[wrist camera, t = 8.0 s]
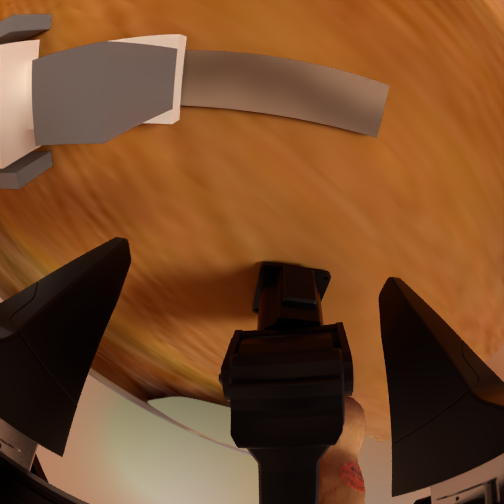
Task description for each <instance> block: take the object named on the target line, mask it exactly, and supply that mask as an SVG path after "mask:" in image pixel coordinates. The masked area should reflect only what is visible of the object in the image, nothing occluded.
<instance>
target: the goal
mask: <svg viewBox="0 0 504 504" xmlns="http://www.w3.org/2000/svg"><path fill="white" fill-rule="evenodd" d="M51 19H52V15H49V14H25V15H12V16H10V17H8V18H6V19H5V20H3V21H1V22H0V45H2V44H8V43H14V42H20V41H22V40H24V39H27V38H29V37H31V36H34V35H36V34H39V33H41V32H44V31H46V30H49V29H50V26H51ZM52 166H53V162H52V155H51V151H46V152H30V153H28V154H26V155H24V156H23V157H21V158H19V159H18V160H16V161H15V162H13V163H11V164H10V165H8V166H7V167H5V168H3V169H0V189H21V188H22V187H23V186H25V185H26V184H27V183H29V182H30V181H32V180H33V179H34V178H36V177H37V176H39V175H40V174H42V173H43V172H44V171H46V170H47V169H49V168H50V167H52Z"/></svg>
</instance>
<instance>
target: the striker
mask: <svg viewBox="0 0 504 504" xmlns="http://www.w3.org/2000/svg"><path fill="white" fill-rule="evenodd" d="M186 38H187V36H184V35H181V34H169V35H154V36H143V37H134V38H126V39H119V40H113V41H104V42H99V43H94V44H89V45H84V46H80V47H76V48H72V49H68V50H64V51H60V52H57V53H53V54H50V55H47V56H44V57H41V58H38V54H39V41H40V40H30V41H22V42H14V43H8V44H2V45H0V169H3V168H5V167H7V166H8V165H10V164H11V163H13V162H15V161H16V160H18V159H19V158H21V157H23V156H24V155H26V154H28V153H30V152H31V151H33V150H35V149H37V148H39V147H40V146H41V145H57V144H89V143H106V142H108V141H109V140H111V139H113V138H115V137H117V136H118V135H120V134H122V133H124V132H126V131H128V130H130V129H132V128H134V127H136V126H138V125H140V124H142V123H157V124H173V123H175V122H176V121H178V120H179V115H180V99H181V86H182V75H183V65H184V55H185V46H186Z"/></svg>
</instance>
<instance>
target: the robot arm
mask: <svg viewBox="0 0 504 504" xmlns="http://www.w3.org/2000/svg"><path fill="white" fill-rule="evenodd" d="M130 264H131V255H130V249H129V243H128V240H127V239H126V238H120V237H115V238H113V239H112V240H110V241H108V242H106V243H104V244H102V245H100V246H98V247H96V248H95V249H93V250H91V251H89V252H87V253H85V254H84V255H82V256H80V257H78V258H76V259H75V260H73V261H71V262H69V263H68V264H66V265H64V266H62V267H61V268H59V269H57V270H56V271H54V272H52V273H50V274H49V275H47V276H45V277H44V278H42V279H40V280H39V282H35V283H34V284H32V285H31V286H29V287H27V288H26V289H24V290H22V291H21V292H19V293H17V294H16V295H14V296H12V297H10V298H8V299H7V300H5V301H3V302H2V303H0V504H89V503H86V502H84V501H82V500H80V499H78V498H76V497H74V496H72V495H70V494H67V493H66V492H64V491H62V490H60V489H58V488H56V487H55V486H53V485H51V484H49V483H48V481H47V478H46V476H45V474H44V472H43V470H42V467H41V465H40V463H39V460H38V458H37V455H36V450H37V447H38V444H39V445H41V446H43V447H44V448H46V449H48V450H50V451H52V452H54V453H56V454H57V455H59V456H61V457H62V456H63V454H64V450H65V446H66V442H67V438H68V435H69V431H70V428H71V424H72V421H73V417H74V414H75V411H76V408H77V404H78V401H79V398H80V395H81V392H82V389H83V386H84V383H85V380H86V378H87V375H88V372H89V369H90V367H91V364H92V361H93V359H94V356H95V354H96V351H97V348H98V346H99V343H100V341H101V339H102V336H103V334H104V331H105V329H106V326H107V324H108V322H109V319H110V317H111V315H112V313H113V310H114V308H115V306H116V303H117V301H118V298H119V296H120V293H121V290H122V287H123V284H124V281H125V278H126V275H127V272H128V270H129V267H130ZM265 267H267V268H268V269H265ZM324 276H327V277H324ZM330 279H331V275H330V273H329V272H328V271H324V270H317V269H310V268H303V267H296V266H289V265H282V264H276V263H269V262H264V263H262V264H261V267H260V272H259V277H258V282H257V287H256V292H255V298H254V303H253V309H252V310H253V312H254V313H258V326H257V330H252V331H242V330H235V332H234V335H233V338H232V339H231V342H230V344H229V347H228V350H227V353H226V355H225V358H224V361H223V364H222V367H221V373H220V374H219V382H220V383H221V384H222V385H223V392H224V396H225V398H226V400H227V401H228V402H230V406H231V436H232V438H233V440H234V442H235V444H236V446H237V447H238V448H247V449H248V451H249V452H250V453H251V455H252V456H253V457H254V458H255V460H256V461H257V462H258V469H259V504H318V499H319V464H320V460H321V459H322V457H323V456H324V455H325V453H326V452H327V450H328V449H329V447H330V446H333V445H335V444H336V443H337V441H338V440H339V438H340V436H341V434H342V432H343V425H344V421H345V397H347V396H351V395H352V392H353V363H352V356H351V351H350V348H349V344H348V340H347V337H346V333H345V330H344V326H343V323H342V322H338V323H336V324H330V325H324V324H323V316H322V308H321V301H322V298H323V296H324V294H325V291H326V289H327V286H328V284H329V281H330ZM379 311H380V326H381V338H382V345H383V352H384V359H385V366H386V374H387V383H388V393H389V404H390V416H391V434H392V497H394V496H399V495H403V494H406V493H410V492H414V491H416V490H420V489H423V488H426V487H429V486H430V491H431V496H428V497H425V498H422V499H419V500H416V501H415V503H414V504H504V382H503V381H502V380H501V379H500V378H499V377H498V376H497V375H496V374H495V373H494V372H493V371H492V370H491V369H490V368H489V367H488V366H487V365H486V364H485V363H484V362H483V361H482V360H481V359H480V358H479V357H478V356H477V355H476V354H475V353H474V352H473V350H472V349H471V348H470V347H469V346H468V345H467V344H466V343H465V342H464V341H463V340H461V338H460V337H459V336H458V335H457V334H456V332H455V331H454V330H453V329H452V328H451V327H450V326H449V325H448V324H447V323H446V322H445V321H444V320H443V319H442V318H441V317H440V316H439V315H438V314H437V313H436V312H435V311H434V310H433V309H432V308H431V307H430V306H429V305H428V304H427V303H426V302H425V301H424V300H423V299H422V298H421V297H419V296H418V295H417V294H416V293H415V292H414V291H413V290H412V289H411V288H410V287H409V286H408V285H407V284H406V283H405V282H404V281H402V280H401V279H400V278H397V277H389V278H388V279H387V281H386V283H385V284H384V286H383V288H382V290H381V292H380V294H379Z"/></svg>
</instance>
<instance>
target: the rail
mask: <svg viewBox="0 0 504 504" xmlns="http://www.w3.org/2000/svg"><path fill="white" fill-rule="evenodd" d="M388 90H389V85H387V84H384V83H381V82H378V81H375V80H372V79H369V78H366V77H363V76H359V75H356V74H352V73H349V72H345V71H342V70H338V69H334V68H330V67H326V66H321V65H317V64H312V63H308V62H303V61H297V60H292V59H286V58H280V57H273V56H266V55H258V54H249V53H239V52H225V51H202V50H185V55H184V65H183V75H182V86H181V99H180V105H185V106H202V107H216V108H227V109H236V110H245V111H253V112H260V113H267V114H273V115H280V116H285V117H291V118H297V119H302V120H307V121H312V122H316V123H321V124H326V125H330V126H334V127H338V128H342V129H346V130H350V131H354V132H358V133H361V134H365V135H369V136H372V137H375V138H377V135H378V131H379V127H380V123H381V120H382V115H383V111H384V107H385V103H386V99H387V94H388Z"/></svg>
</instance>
